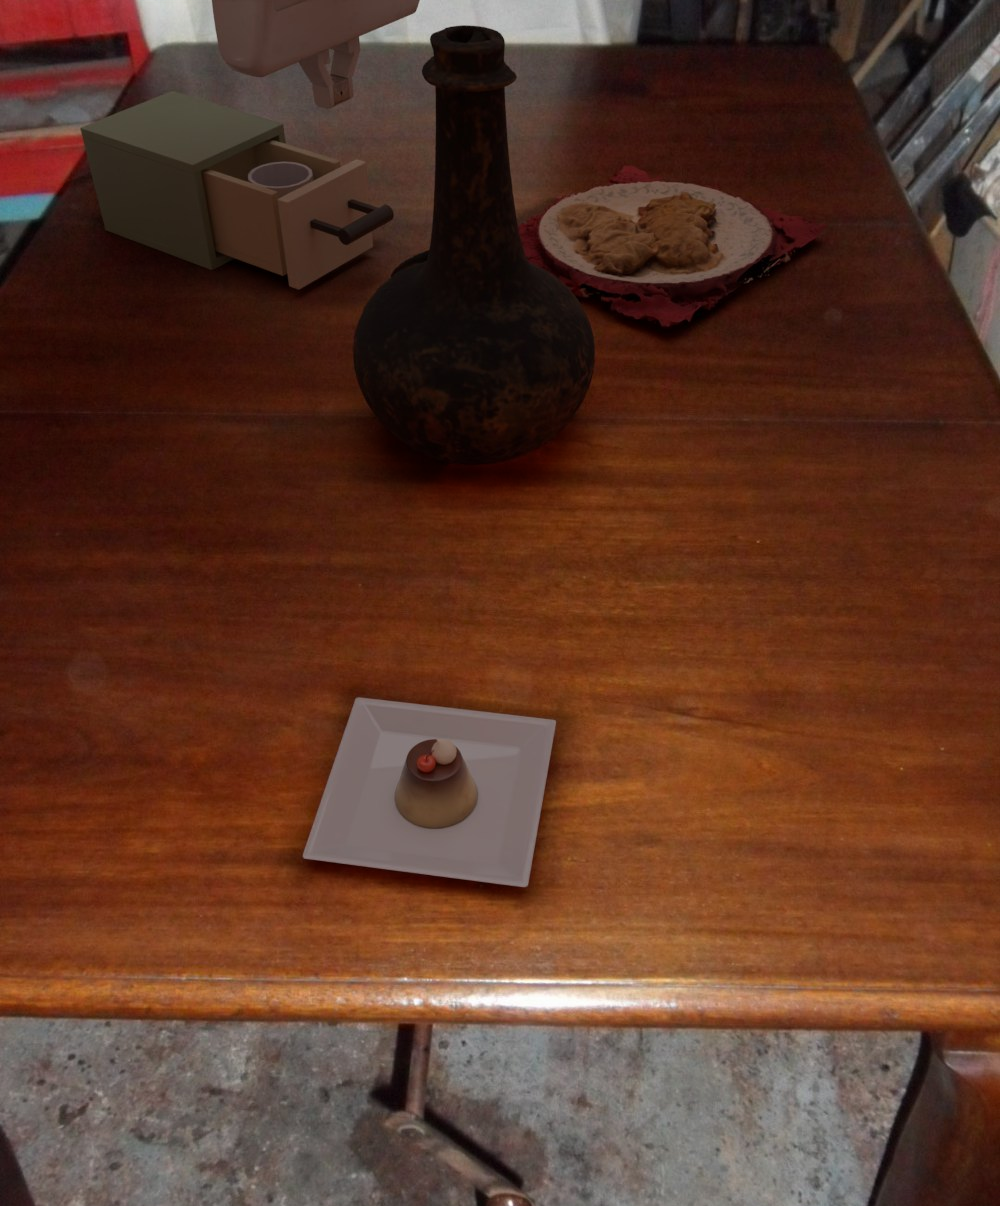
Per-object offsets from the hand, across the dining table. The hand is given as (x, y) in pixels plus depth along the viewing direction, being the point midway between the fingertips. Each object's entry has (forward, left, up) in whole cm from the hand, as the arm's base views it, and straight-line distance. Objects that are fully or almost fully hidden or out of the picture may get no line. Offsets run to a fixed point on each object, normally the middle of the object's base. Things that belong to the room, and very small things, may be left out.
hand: (334, 102), depth 97 cm
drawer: (-6, 0, -15) cm, 16 cm away
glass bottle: (+24, -13, -16) cm, 31 cm away
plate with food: (+19, +21, -16) cm, 32 cm away
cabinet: (-19, 0, -15) cm, 25 cm away
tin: (-7, 0, -13) cm, 15 cm away
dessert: (+44, -44, -16) cm, 64 cm away
